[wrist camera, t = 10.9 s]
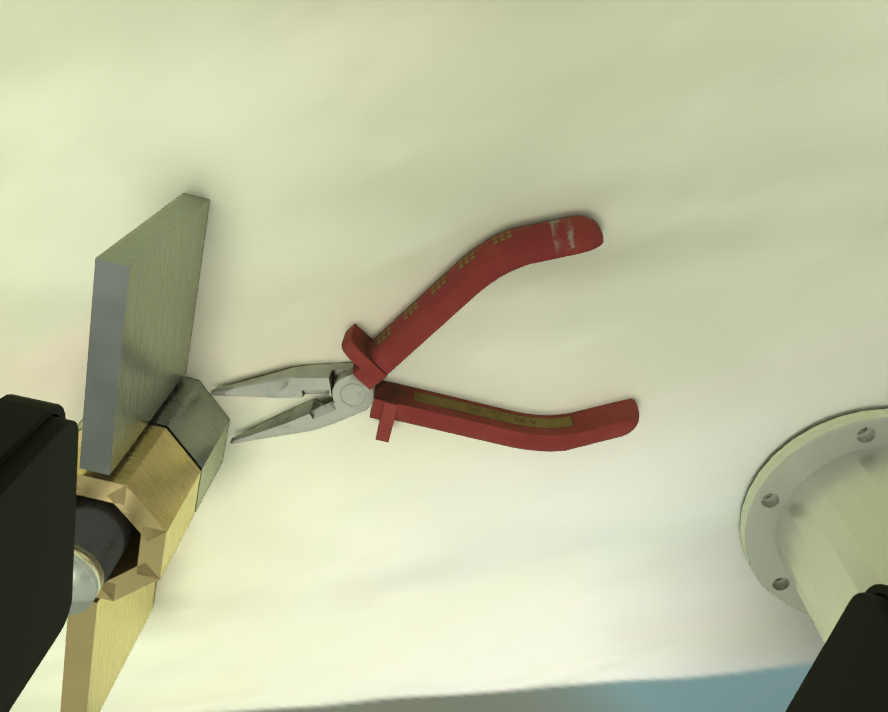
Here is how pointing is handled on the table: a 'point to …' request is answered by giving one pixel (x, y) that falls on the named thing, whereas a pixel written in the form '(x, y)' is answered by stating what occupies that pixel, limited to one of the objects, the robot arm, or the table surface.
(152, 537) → the hinge leaf
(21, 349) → the table surface
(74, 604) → the hinge pin
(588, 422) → the pliers
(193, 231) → the hinge base
